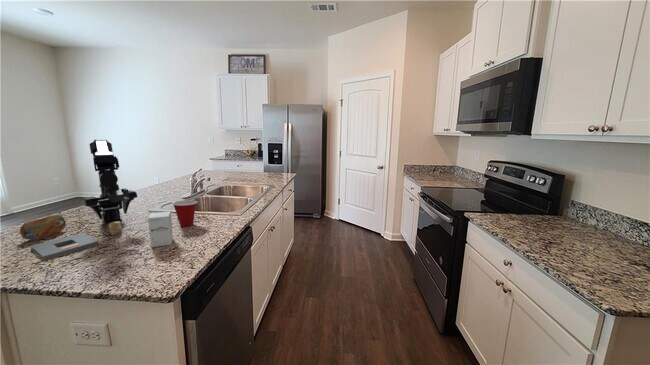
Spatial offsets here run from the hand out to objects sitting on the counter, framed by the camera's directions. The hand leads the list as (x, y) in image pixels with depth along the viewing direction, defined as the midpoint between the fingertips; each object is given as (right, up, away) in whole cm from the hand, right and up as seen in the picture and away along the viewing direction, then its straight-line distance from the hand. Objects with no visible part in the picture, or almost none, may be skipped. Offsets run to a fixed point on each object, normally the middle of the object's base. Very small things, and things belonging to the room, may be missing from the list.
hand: (113, 216), depth 119 cm
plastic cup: (+26, -6, +14) cm, 30 cm away
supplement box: (+27, -10, -8) cm, 30 cm away
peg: (0, -8, +2) cm, 8 cm away
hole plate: (-9, -11, -13) cm, 19 cm away
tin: (-28, -9, -2) cm, 30 cm away
